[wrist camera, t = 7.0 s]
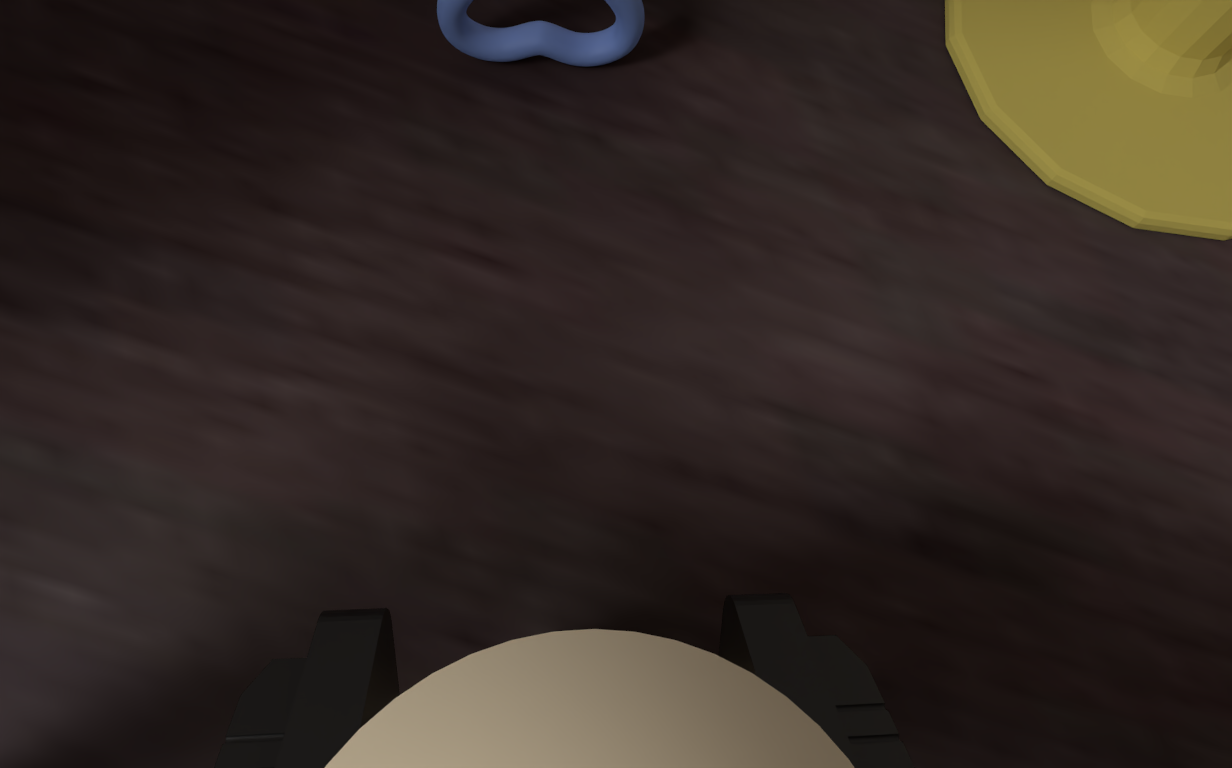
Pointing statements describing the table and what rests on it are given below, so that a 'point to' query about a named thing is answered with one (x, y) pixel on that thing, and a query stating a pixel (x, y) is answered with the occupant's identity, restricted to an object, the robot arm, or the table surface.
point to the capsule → (591, 711)
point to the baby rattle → (543, 36)
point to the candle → (1110, 101)
